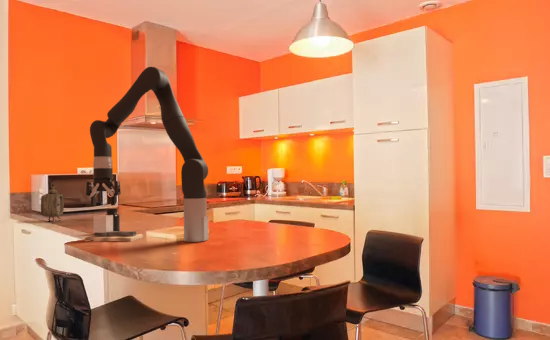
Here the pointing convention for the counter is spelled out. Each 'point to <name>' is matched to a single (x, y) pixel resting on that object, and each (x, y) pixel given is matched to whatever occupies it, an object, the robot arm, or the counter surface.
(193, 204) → the robot arm
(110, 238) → the ratchet board
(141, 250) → the counter surface
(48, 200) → the tabletop clock
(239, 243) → the counter surface
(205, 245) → the counter surface
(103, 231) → the grey block
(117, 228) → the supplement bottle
